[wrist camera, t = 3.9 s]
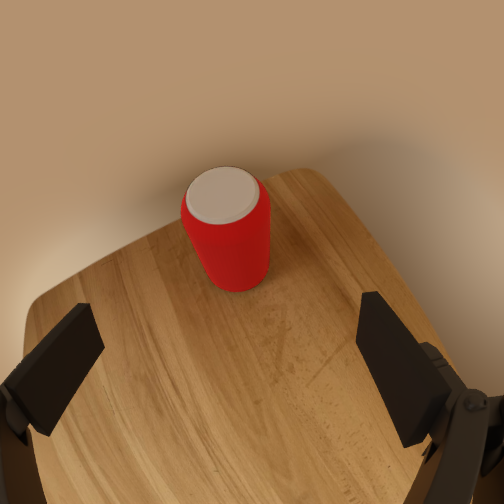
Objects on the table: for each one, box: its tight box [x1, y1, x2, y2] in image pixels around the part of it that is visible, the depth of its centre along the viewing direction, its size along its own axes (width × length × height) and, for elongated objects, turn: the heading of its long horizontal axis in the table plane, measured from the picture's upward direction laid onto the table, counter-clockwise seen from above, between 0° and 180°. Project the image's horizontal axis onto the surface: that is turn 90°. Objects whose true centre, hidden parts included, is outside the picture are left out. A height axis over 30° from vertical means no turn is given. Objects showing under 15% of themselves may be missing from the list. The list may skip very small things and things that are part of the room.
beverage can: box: [181, 166, 271, 292], centre depth 23 cm, size 6×6×12 cm
